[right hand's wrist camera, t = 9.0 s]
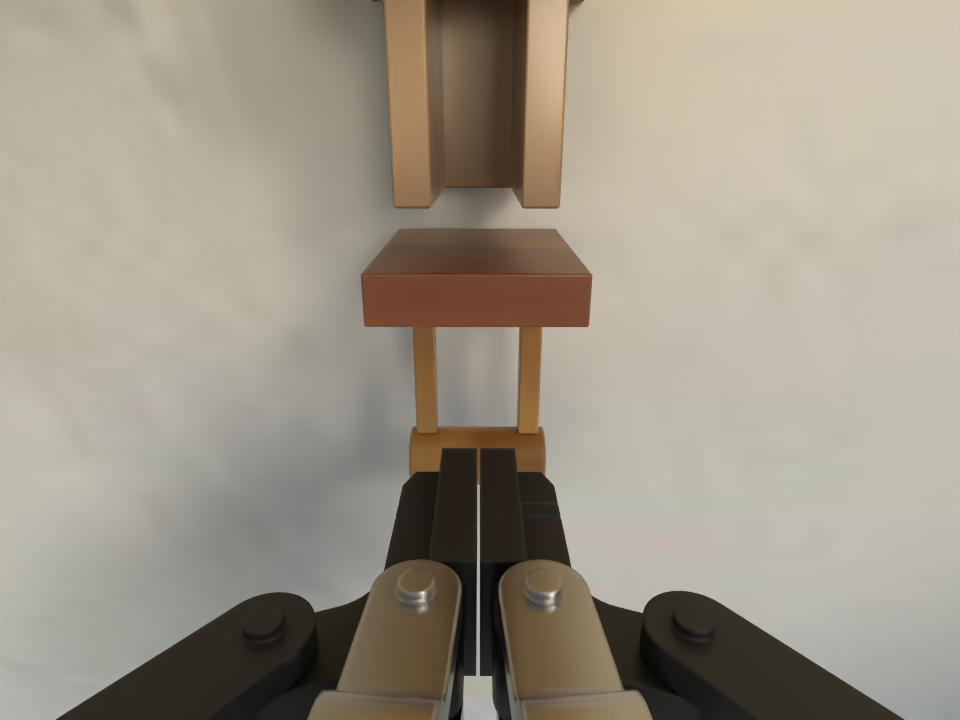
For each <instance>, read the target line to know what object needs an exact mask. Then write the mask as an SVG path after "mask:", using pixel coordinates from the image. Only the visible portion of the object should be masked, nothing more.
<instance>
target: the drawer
mask: <svg viewBox="0 0 960 720" xmlns="http://www.w3.org/2000/svg"><path fill="white" fill-rule="evenodd" d="M383 2H384V22H385V43H386V64H387V84H388V105H389V125H390V146H391V167H392V187H393V205H394V207H395V208H430V207H431V206H432V205H433V203H434V202H435V200H436V199H437V197H438V196H439V195H440V193H441V192H442V190H443V189H444V188H511V189H512V191H513V192H514V194H515V196H516V197H517V199H518V201H519V203H520V204H521V206H522V208H559V207H560V191H561V170H562V148H563V127H564V105H565V84H566V62H567V41H568V19H569V0H383ZM361 284H362V299H363V313H364V325H365V326H366V327H413V348H414V373H415V398H416V423H417V427H413V428H412V431H411V435H410V445H409V473H410V478H411V477H412V476H413V474H414V473H415V472H439V469H440V461H441V453H442V448H477V485H480V448H515V454H516V463H517V472H541V473H542V474H543V475H544V476H545V467H546V452H545V437H544V431H543V428H542V427H538V419H539V394H540V368H541V343H542V327H588V326H589V317H590V302H591V287H592V274H591V273H590V272H589V270H588V269H587V268H586V267H585V265H584V264H583V263H582V262H581V260H580V259H579V258H578V257H577V255H576V254H575V253H574V252H573V250H572V249H571V248H570V247H569V245H568V244H567V243H566V242H565V240H564V239H563V238H562V237H561V235H560V234H559V233H558V232H557V230H556V229H400V230H399V231H398V232H397V233H396V234H395V236H394V237H393V238H392V239H391V240H390V241H389V243H388V244H387V245H386V246H385V247H384V248H383V250H382V251H381V252H380V253H379V254H378V255H377V257H376V258H375V259H374V260H373V261H372V262H371V264H370V265H369V266H368V267H367V268H366V269H365V271H364V272H363V273H362V274H361ZM435 327H519V360H518V400H517V427H438V404H437V366H436V328H435Z"/></svg>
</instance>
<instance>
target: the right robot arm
mask: <svg viewBox="0 0 960 720" xmlns="http://www.w3.org/2000/svg"><path fill="white" fill-rule="evenodd" d="M476 616H477V448H442V453H441V461H440V469H439V472H415V473H414V474H413V476H412V477H411V478H410V479H409V480H408V481H407V482H406V483H405V484H404V485H403V487H402V492H401V496H400V501H399V505H398V510H397V514H396V519H395V523H394V528H393V532H392V537H391V541H390V546H389V550H388V555H387V559H386V564H385V568H384V572H382V573H381V574H380V575H379V576H378V577H377V579H376V580H375V581H374V583H373V585H372V587H371V590H370V591H369V592H368V593H367V594H365V595H364V596H363V597H361V598H359V599H357V600H355V601H353V602H351V603H348V604H346V605H342V606H339V607H335V608H331V609H327V610H323V611H319V612H315V613H314V610H313V608H312V606H311V605H310V603H309V602H308V601H306V600H305V599H304V598H302V597H300V596H298V595H295V594H291V593H283V592H276V593H267V594H262V595H259V596H256V597H253V598H250V599H248V600H246V601H244V602H242V603H240V604H238V605H236V606H235V607H233V608H232V609H230V610H229V611H227V612H225V613H224V614H222V615H221V616H219V617H217V618H216V619H214V620H213V621H211V622H210V623H208V624H206V625H205V626H203V627H202V628H200V629H198V630H197V631H195V632H194V633H192V634H190V635H189V636H187V637H186V638H184V639H183V640H181V641H179V642H178V643H176V644H175V645H173V646H171V647H170V648H168V649H167V650H165V651H164V652H162V653H160V654H159V655H157V656H156V657H154V658H152V659H151V660H149V661H148V662H146V663H145V664H143V665H141V666H140V667H138V668H137V669H135V670H133V671H132V672H130V673H129V674H127V675H125V676H124V677H122V678H121V679H119V680H118V681H116V682H114V683H113V684H111V685H110V686H108V687H106V688H105V689H103V690H102V691H100V692H99V693H97V694H95V695H94V696H92V697H91V698H89V699H87V700H86V701H84V702H83V703H81V704H80V705H78V706H76V707H75V708H73V709H72V710H70V711H68V712H67V713H65V714H64V715H62V716H60V717H59V718H57V719H56V720H463V684H464V676H476ZM480 676H492V687H493V703H494V706H495V709H496V711H497V720H904V719H903V718H901V717H899V716H898V715H896V714H895V713H893V712H892V711H890V710H888V709H887V708H885V707H884V706H882V705H880V704H879V703H877V702H876V701H874V700H873V699H871V698H869V697H868V696H866V695H865V694H863V693H861V692H860V691H858V690H857V689H855V688H854V687H852V686H850V685H849V684H847V683H846V682H844V681H842V680H841V679H839V678H838V677H836V676H834V675H833V674H831V673H830V672H828V671H827V670H825V669H823V668H822V667H820V666H819V665H817V664H815V663H814V662H812V661H811V660H809V659H808V658H806V657H804V656H803V655H801V654H800V653H798V652H796V651H795V650H793V649H792V648H790V647H789V646H787V645H785V644H784V643H782V642H781V641H779V640H777V639H776V638H774V637H773V636H771V635H769V634H768V633H766V632H765V631H763V630H762V629H760V628H758V627H757V626H755V625H754V624H752V623H750V622H749V621H747V620H746V619H744V618H743V617H741V616H739V615H738V614H736V613H735V612H733V611H731V610H730V609H728V608H727V607H725V606H724V605H722V604H720V603H719V602H717V601H715V600H713V599H711V598H709V597H706V596H704V595H700V594H697V593H693V592H687V591H670V592H665V593H662V594H659V595H657V596H655V597H653V598H652V599H651V600H650V601H649V602H648V603H647V605H646V606H645V608H644V611H643V613H640V612H636V611H632V610H628V609H624V608H620V607H616V606H613V605H609V604H607V603H605V602H602V601H600V600H598V599H596V598H595V597H593V596H592V595H591V593H590V590H589V587H588V585H587V583H586V581H585V580H584V579H583V577H582V576H581V575H580V574H579V573H578V572H576V571H575V570H574V569H572V568H571V564H570V559H569V554H568V549H567V545H566V540H565V535H564V531H563V526H562V521H561V519H560V512H559V507H558V504H557V497H556V493H555V488H554V485H553V484H552V483H551V482H550V481H549V480H548V479H547V478H546V477H545V476H544V475H543V474H542V473H541V472H517V463H516V454H515V448H480Z"/></svg>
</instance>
